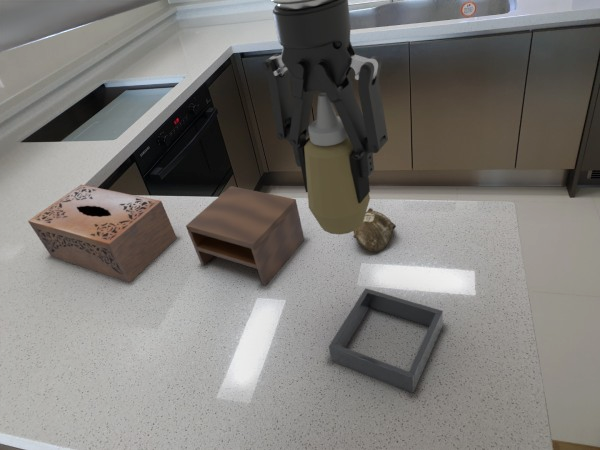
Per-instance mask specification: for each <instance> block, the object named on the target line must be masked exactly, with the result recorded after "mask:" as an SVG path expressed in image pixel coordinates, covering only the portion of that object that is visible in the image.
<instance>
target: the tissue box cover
mask: <svg viewBox="0 0 600 450" xmlns="http://www.w3.org/2000/svg"><path fill="white" fill-rule="evenodd" d="M27 222H28V224H29V225H30V227H31V228H32V230H33V232H34V233H35V234H36V236H37V238H39V240H40V242H41V243H42V245H43V247H44V248H45V250H46V251H47V252H48V254H49V255H50V257H52V258H55V259H58V260H61V261H64V262H67V263H70V264H73V265H76V266H78V267H82V268H85V269H88V270H91V271H94V272H97V273H100V274H103V275H106V276H109V277H112V278H115V279H118V280H121V281H124V282H127V283H132V281H134V280H135V279H136V278H137V277H138V276H139V275H140V274H141V273H142V272H143V271H145V269H146V268H148V267H149V265H151V263H152V262H153V261H155V260H156V259H157V258H158V257H159V256H160V255H161V254H162V253H163V252H164V251H166V249H168V247H169V246H171V245H172V244H173V243H174V242H175V241H176V240H177V239H178V237H177V234H176V232H175V230H174V228H173V225H172V223H171V221H170V218H169V215H168V213H167V211H166V209H165V206H164V205H163V202H162V200H160V199H154V198H149V197H144V196H140V195H134V194H129V193H124V192H120V191H115V190H111V189H106V188H105V189H104V188H100V187H96V186H90V185H87V184H80V185H78V186H76V187H75V188H74V189H72V190H71V191H69V192H68V193H67V194H65V195H63V196H62V197H61V198H59V199H58V200H56V201H55V202H54V203H52V204H50V205H49V206H48V207H46V208H45V209H43V210H42V211H41V212H39V213H37V214H36V215H35V216H33V217H32V218H30V219H29V220H28V221H27Z"/></svg>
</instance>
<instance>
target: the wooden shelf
mask: <svg viewBox="0 0 600 450" xmlns="http://www.w3.org/2000/svg"><path fill="white" fill-rule="evenodd" d="M185 227H186V230H187V233H188V235H189V237H190V240H191V242H192V245H193V248H194V250H195V253H196V255H197V258H198V260H199V262H200V265H201V266H205V265H207V264H208V263H209V262H210V261H211V260H212V259H213V258H214V257H217V258H220V259H224V260H227V261H230V262H233V263H237V264H240V265H243V266H246V267H250V268H253V269H256V270H257V272H258V276H259V279H260V282H261V285H262V286H265V287H266V286H267V285H268V284H269V283H270V282H271V280H272V279H273V278H274V277H275V276H276V275H277V273H278V272H279V270H281V268H282V267H283V266H284V265H285V264H286V263H287V261H288V260H289V259H290V258H291V256H292V255H293V254H294V253H295V252H296V251H297V250H298V248H299V247H300V246H301V245H302V244H303V242H304V241H305V236H304V232H303V226H302V222H301V217H300V212H299V208H298V203H297V199H296V198H292V197H286V196H281V195H277V194H271V193H266V192H262V191H257V190H252V189H247V188H242V187H237V186H233V185H230V186H229V187H228V188H227V189H226V190H225V191H224V192H222V193H221V194H220V195H219V196H217V198H215V199H214V200H213V201H212V202H211V203H209V204H208V205H207V207H205V208H204V209H203V210H202V211H201V212H199V214H197V215H196V216H195V217H194V218H192V219H191V221H189V222H188V223H187V224H186V225H185Z"/></svg>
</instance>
